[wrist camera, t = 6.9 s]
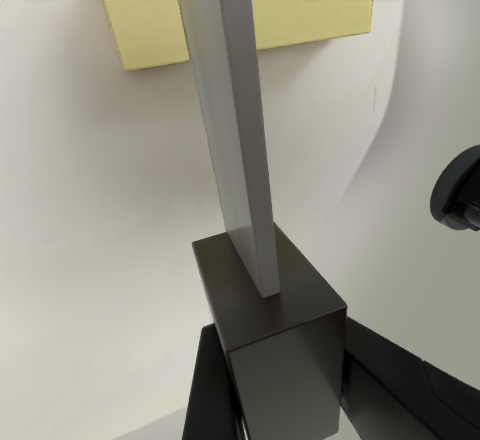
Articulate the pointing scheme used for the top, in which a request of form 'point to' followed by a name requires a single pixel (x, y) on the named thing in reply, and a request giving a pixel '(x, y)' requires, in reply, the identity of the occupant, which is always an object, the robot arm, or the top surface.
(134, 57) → the butter pat
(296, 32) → the butter stick
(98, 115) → the top surface
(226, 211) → the knife
